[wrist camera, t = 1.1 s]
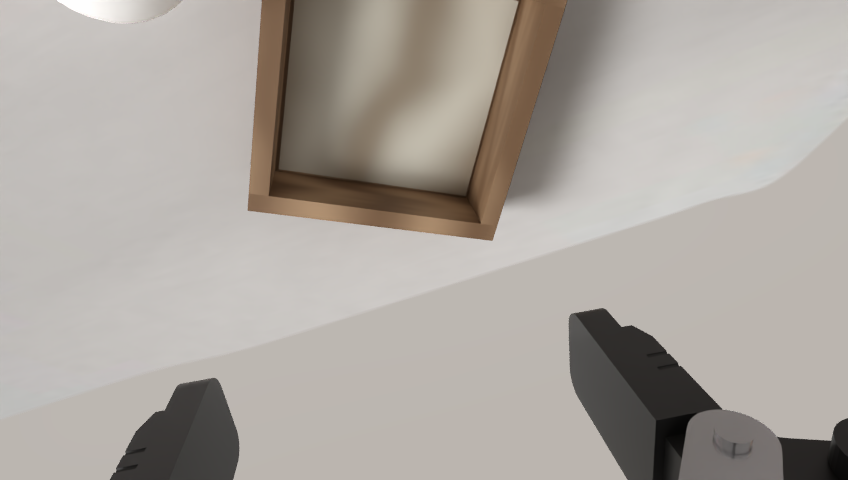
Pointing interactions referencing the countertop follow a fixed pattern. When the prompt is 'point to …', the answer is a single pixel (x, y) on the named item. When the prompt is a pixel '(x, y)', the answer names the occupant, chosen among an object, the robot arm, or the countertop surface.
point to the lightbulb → (122, 9)
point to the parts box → (396, 109)
